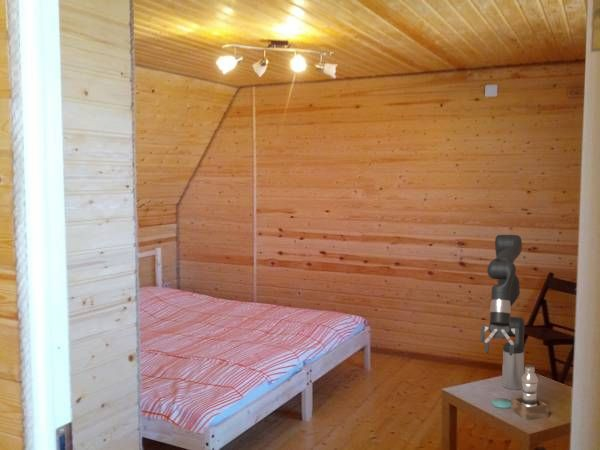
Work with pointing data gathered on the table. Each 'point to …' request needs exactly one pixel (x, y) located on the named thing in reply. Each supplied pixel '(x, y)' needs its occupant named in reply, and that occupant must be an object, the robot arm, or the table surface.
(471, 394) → the table surface
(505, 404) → the teal coaster
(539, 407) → the walnut holder
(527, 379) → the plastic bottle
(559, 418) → the table surface
